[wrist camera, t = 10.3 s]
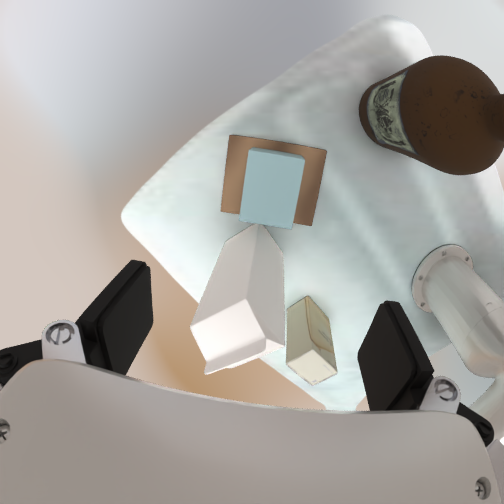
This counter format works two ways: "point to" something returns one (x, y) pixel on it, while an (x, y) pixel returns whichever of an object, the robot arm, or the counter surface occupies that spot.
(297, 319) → the skincare box
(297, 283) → the counter surface
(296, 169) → the brick
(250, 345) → the milk
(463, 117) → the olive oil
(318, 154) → the board
